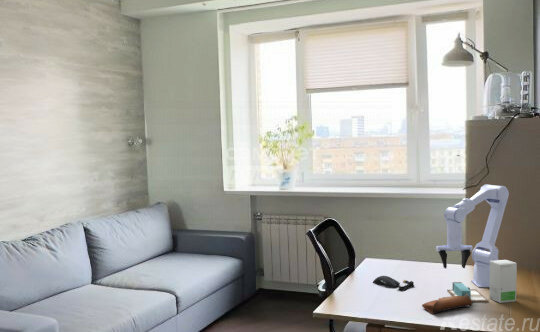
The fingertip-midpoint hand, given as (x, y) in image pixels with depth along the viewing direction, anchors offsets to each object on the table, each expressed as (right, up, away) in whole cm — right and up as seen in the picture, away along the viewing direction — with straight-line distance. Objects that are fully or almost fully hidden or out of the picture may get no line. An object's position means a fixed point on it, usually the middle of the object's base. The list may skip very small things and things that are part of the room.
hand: (454, 267), depth 218 cm
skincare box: (+16, -11, -10) cm, 22 cm away
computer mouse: (-22, -11, +13) cm, 28 cm away
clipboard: (+4, -11, -5) cm, 13 cm away
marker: (+1, -10, -6) cm, 12 cm away
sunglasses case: (-9, -12, -18) cm, 23 cm away
